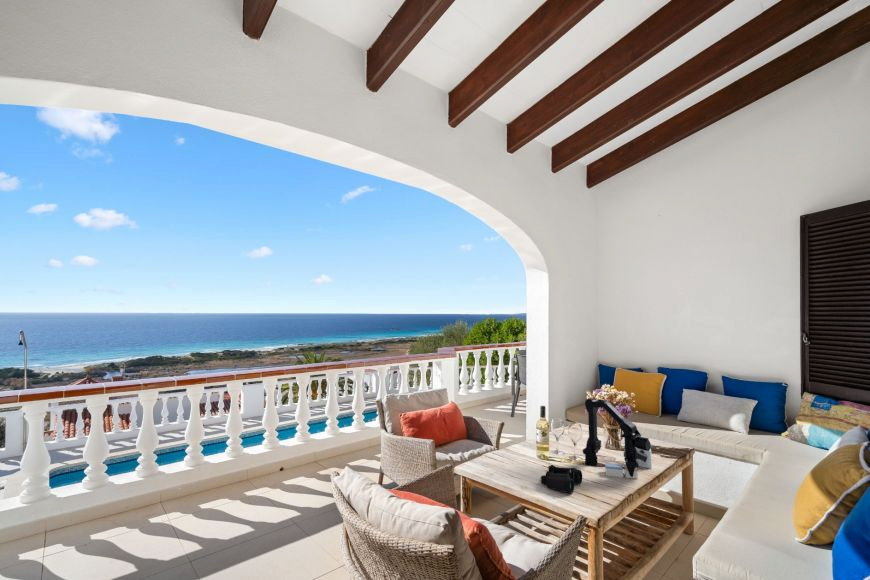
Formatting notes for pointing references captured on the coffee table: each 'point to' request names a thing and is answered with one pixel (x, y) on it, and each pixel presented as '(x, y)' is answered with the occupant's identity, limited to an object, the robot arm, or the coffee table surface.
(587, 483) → the coffee table surface
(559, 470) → the binoculars
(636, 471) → the stub
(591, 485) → the coffee table surface
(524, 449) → the coffee table surface
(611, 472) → the ticket book
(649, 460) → the photo printer
